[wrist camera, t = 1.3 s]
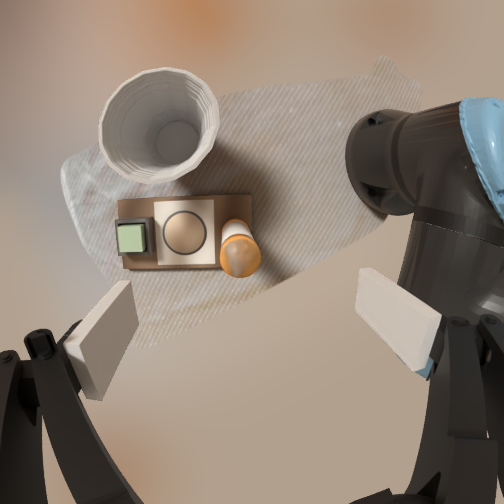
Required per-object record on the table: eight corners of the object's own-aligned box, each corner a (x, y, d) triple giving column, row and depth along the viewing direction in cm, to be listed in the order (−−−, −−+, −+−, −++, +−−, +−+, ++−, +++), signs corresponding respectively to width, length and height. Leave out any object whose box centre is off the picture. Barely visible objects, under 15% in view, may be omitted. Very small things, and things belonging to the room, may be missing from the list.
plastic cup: (232, 167, 33) (236, 159, 21) (151, 195, 32) (115, 203, 21) (208, 90, 30) (201, 48, 18) (129, 119, 30) (88, 94, 18)
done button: (145, 223, 31) (140, 226, 29) (147, 247, 32) (142, 251, 30) (123, 224, 31) (117, 227, 29) (125, 248, 32) (119, 252, 30)
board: (251, 194, 34) (253, 195, 31) (251, 264, 36) (253, 271, 33) (120, 199, 32) (111, 201, 29) (126, 266, 34) (118, 273, 31)
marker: (249, 218, 33) (261, 237, 22) (249, 244, 34) (260, 277, 23) (221, 218, 33) (219, 238, 21) (222, 245, 34) (220, 278, 22)
